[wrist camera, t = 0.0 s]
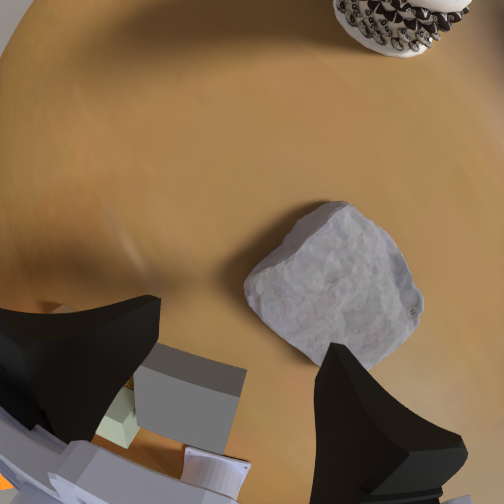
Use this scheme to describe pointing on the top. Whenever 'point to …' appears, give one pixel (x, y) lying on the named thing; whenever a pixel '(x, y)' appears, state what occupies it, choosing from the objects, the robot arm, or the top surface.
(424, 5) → the decorative candle
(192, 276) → the top surface
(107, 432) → the sage block
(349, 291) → the stone block
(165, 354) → the charcoal block
